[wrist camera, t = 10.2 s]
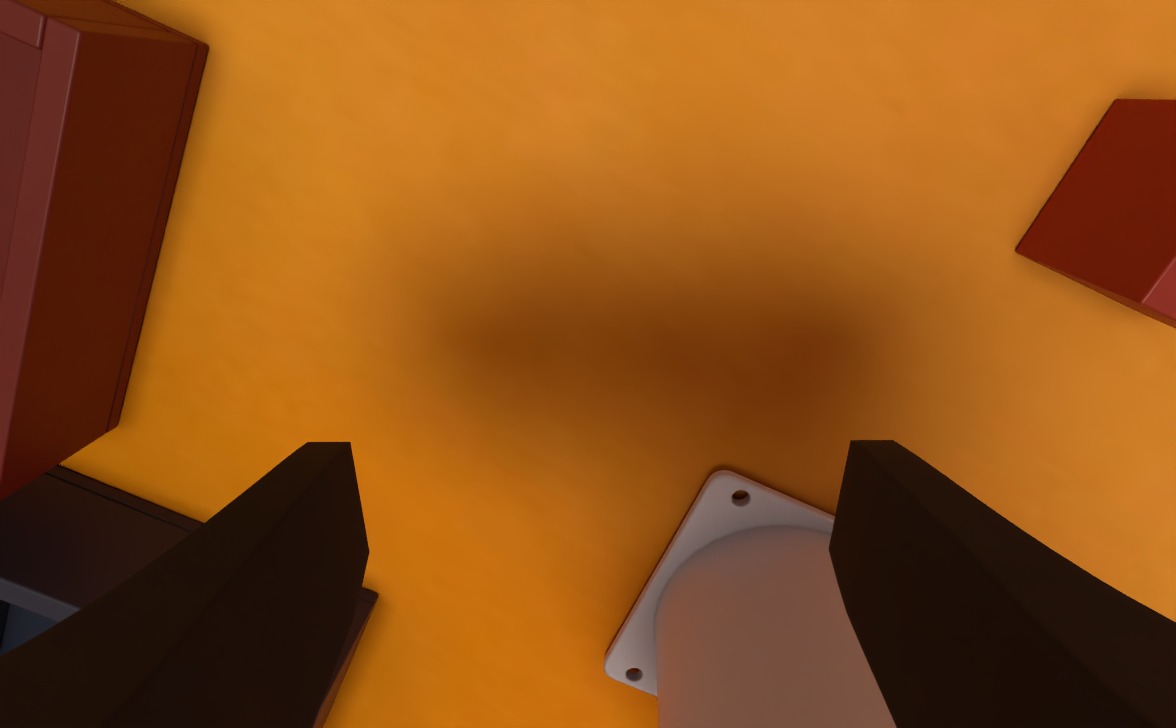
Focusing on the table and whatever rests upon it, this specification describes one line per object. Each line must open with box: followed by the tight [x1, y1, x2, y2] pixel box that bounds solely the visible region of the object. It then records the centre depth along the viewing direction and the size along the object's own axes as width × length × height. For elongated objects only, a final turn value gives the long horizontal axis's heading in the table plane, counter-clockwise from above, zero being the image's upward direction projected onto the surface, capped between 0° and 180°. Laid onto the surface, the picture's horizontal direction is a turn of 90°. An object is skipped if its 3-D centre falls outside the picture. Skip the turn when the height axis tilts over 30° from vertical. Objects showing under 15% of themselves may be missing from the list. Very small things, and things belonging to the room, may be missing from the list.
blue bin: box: [0, 465, 378, 728], centre depth 23 cm, size 11×11×4 cm
